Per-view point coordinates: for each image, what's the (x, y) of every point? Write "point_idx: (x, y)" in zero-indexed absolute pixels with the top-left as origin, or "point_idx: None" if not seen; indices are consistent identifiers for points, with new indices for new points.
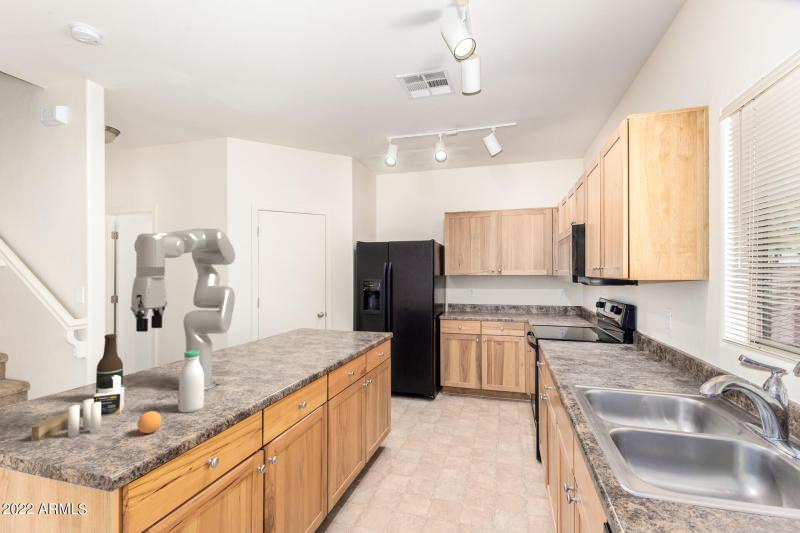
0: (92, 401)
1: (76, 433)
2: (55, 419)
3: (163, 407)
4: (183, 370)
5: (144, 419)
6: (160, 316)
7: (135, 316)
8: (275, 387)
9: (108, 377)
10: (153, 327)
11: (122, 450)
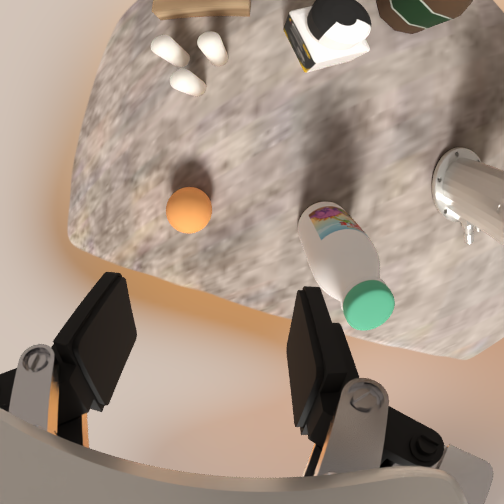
0: (208, 52)
1: (176, 66)
2: (190, 6)
3: (341, 156)
4: (329, 263)
5: (167, 213)
6: (299, 426)
7: (22, 361)
8: (411, 334)
9: (333, 15)
10: (294, 306)
11: (122, 202)
